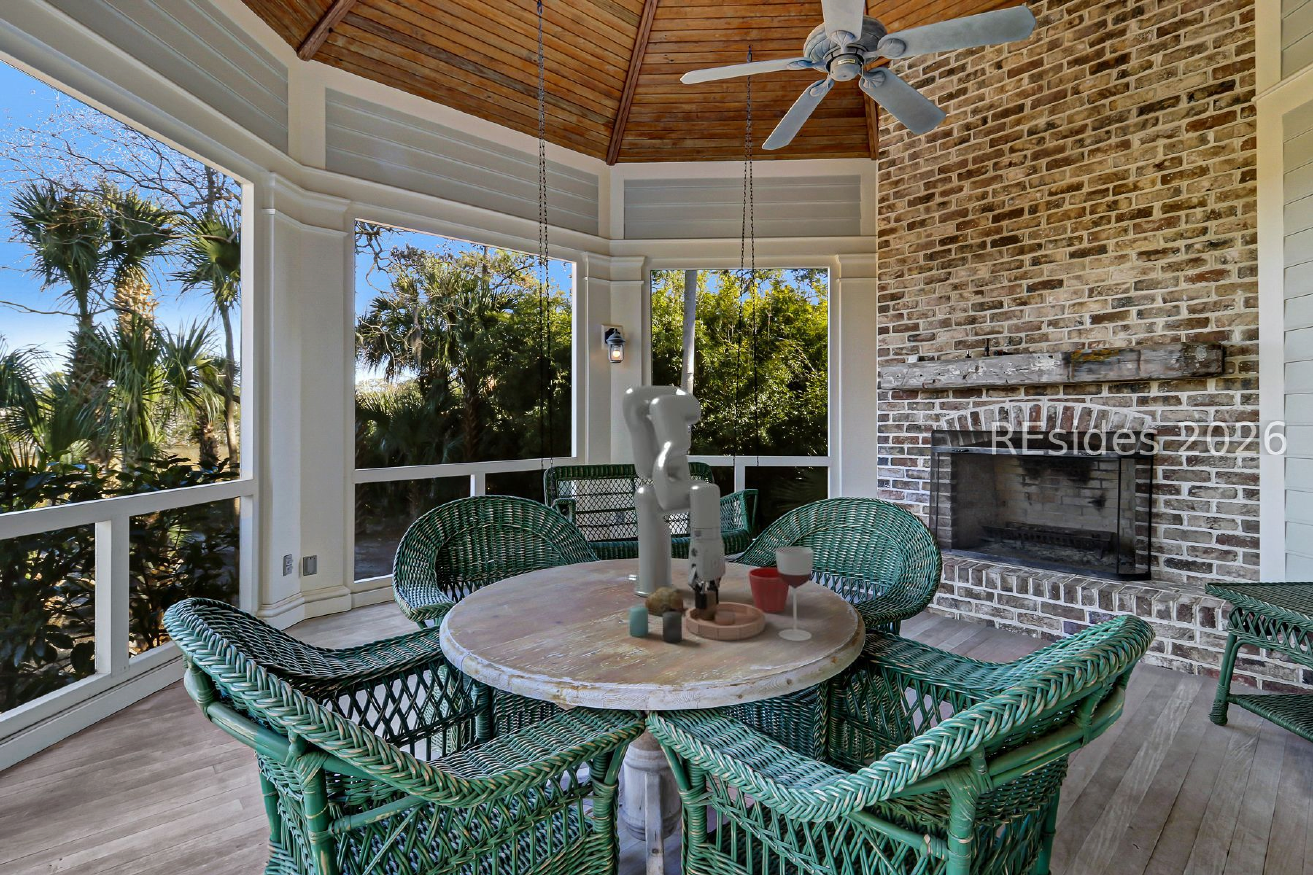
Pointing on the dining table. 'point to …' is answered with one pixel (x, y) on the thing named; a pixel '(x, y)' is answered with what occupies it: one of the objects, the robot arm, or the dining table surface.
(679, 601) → the bread roll
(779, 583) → the flower pot
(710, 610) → the bead
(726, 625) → the groove dish
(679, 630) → the bead
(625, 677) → the dining table surface
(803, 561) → the wineglass
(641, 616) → the teal capsule
